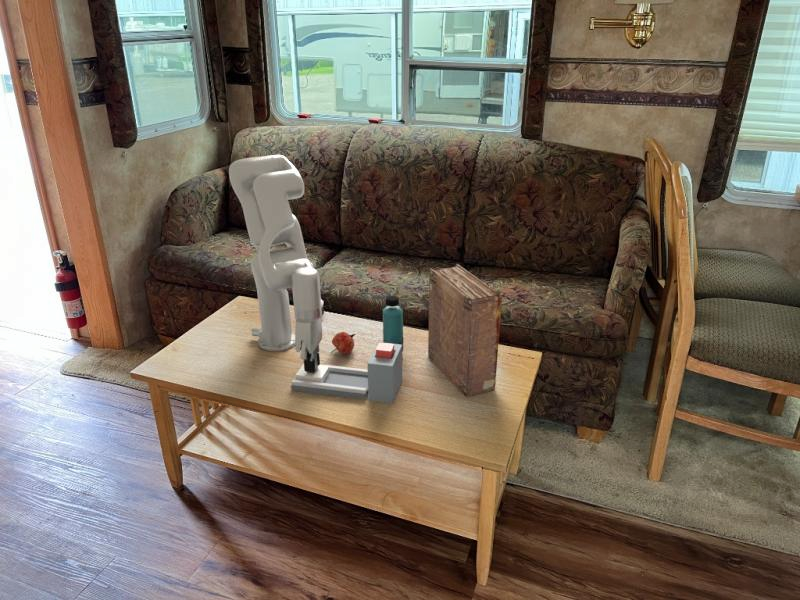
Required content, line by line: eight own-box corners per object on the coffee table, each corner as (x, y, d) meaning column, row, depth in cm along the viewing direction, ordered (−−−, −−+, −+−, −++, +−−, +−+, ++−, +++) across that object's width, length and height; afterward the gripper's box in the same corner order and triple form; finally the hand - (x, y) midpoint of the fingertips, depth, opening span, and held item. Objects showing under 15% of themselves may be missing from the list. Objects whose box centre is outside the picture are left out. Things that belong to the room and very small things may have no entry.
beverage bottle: (401, 361, 193) (401, 302, 184) (380, 358, 194) (379, 301, 186) (405, 350, 199) (405, 293, 190) (385, 348, 200) (384, 292, 191)
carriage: (296, 380, 180) (293, 353, 176) (303, 369, 185) (301, 342, 182) (322, 383, 178) (320, 356, 174) (329, 372, 184) (327, 345, 180)
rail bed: (291, 390, 178) (290, 382, 177) (306, 369, 189) (305, 361, 188) (365, 399, 174) (364, 391, 173) (376, 377, 184) (375, 369, 183)
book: (427, 356, 196) (429, 267, 183) (453, 350, 199) (456, 263, 186) (467, 397, 174) (471, 301, 162) (495, 390, 178) (502, 295, 165)
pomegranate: (335, 365, 195) (360, 348, 192) (320, 348, 193) (345, 330, 191) (339, 356, 202) (363, 339, 199) (325, 339, 200) (349, 322, 198)
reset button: (376, 362, 172) (375, 349, 171) (379, 354, 176) (379, 342, 174) (390, 363, 172) (390, 351, 170) (394, 356, 175) (394, 343, 174)
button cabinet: (368, 400, 174) (367, 363, 168) (379, 377, 184) (378, 342, 179) (393, 403, 172) (392, 365, 167) (402, 380, 183) (402, 344, 178)
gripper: (305, 298, 181) (309, 352, 189) (284, 323, 166) (289, 381, 174) (330, 300, 179) (333, 355, 187) (310, 325, 165) (315, 384, 173)
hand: (312, 367), depth 181 cm, fingers closed on carriage, 3 cm apart
